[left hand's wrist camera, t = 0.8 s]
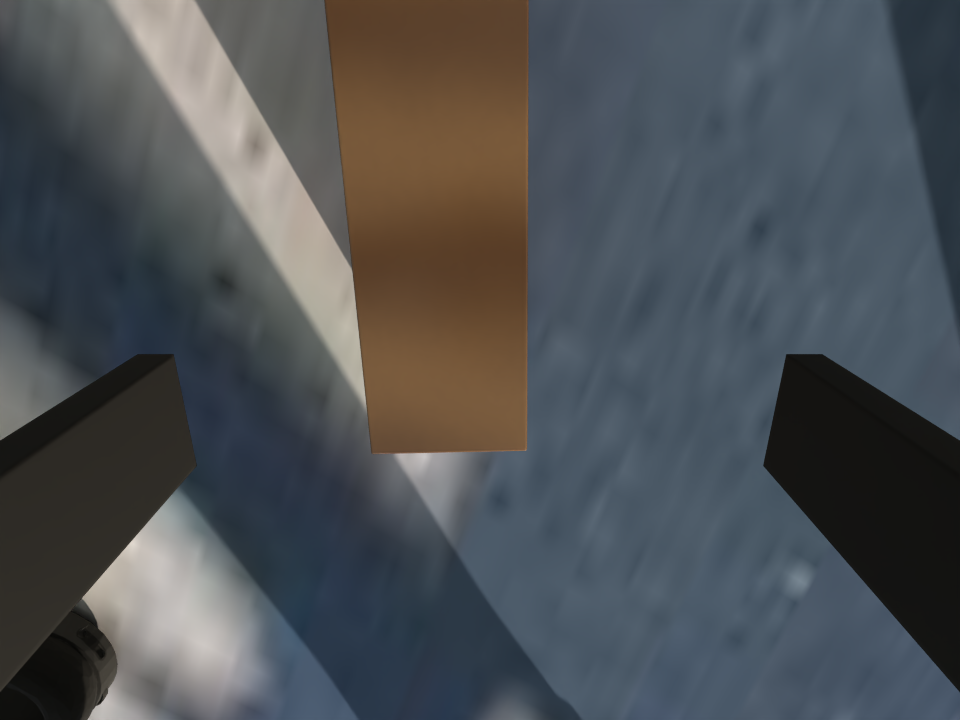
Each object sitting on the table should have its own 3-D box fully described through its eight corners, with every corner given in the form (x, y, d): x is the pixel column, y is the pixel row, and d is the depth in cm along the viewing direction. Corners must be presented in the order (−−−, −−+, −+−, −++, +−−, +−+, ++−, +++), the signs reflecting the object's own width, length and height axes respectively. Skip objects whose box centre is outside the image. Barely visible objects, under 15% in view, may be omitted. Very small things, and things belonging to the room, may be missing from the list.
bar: (512, 358, 29) (527, 451, 20) (404, 360, 29) (371, 454, 20) (508, -253, 21) (530, -557, 12) (358, -248, 21) (266, -547, 12)
